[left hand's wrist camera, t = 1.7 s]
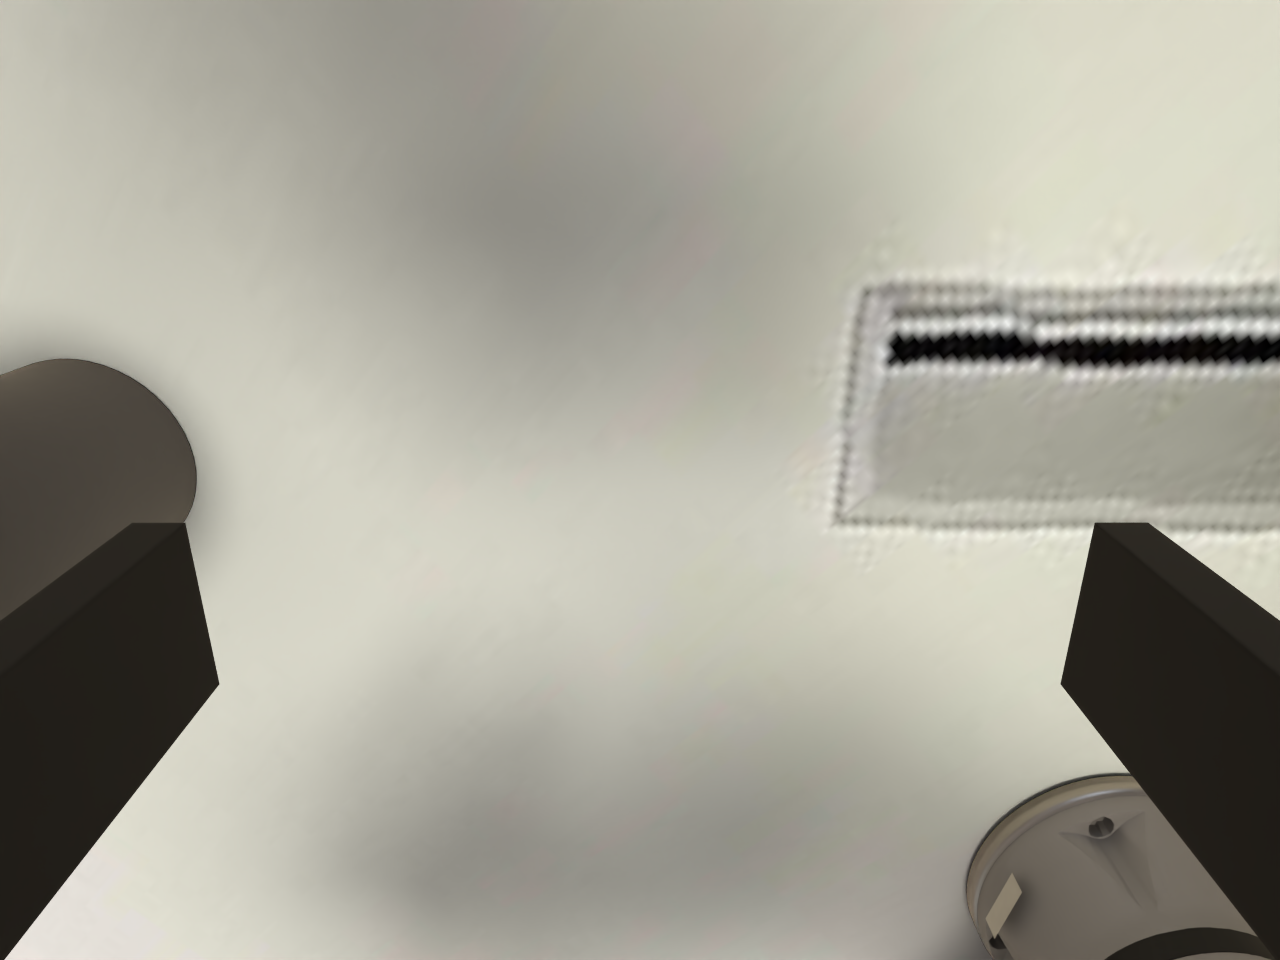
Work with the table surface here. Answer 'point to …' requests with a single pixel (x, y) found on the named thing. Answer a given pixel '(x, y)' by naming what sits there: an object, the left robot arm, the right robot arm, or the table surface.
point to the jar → (81, 468)
